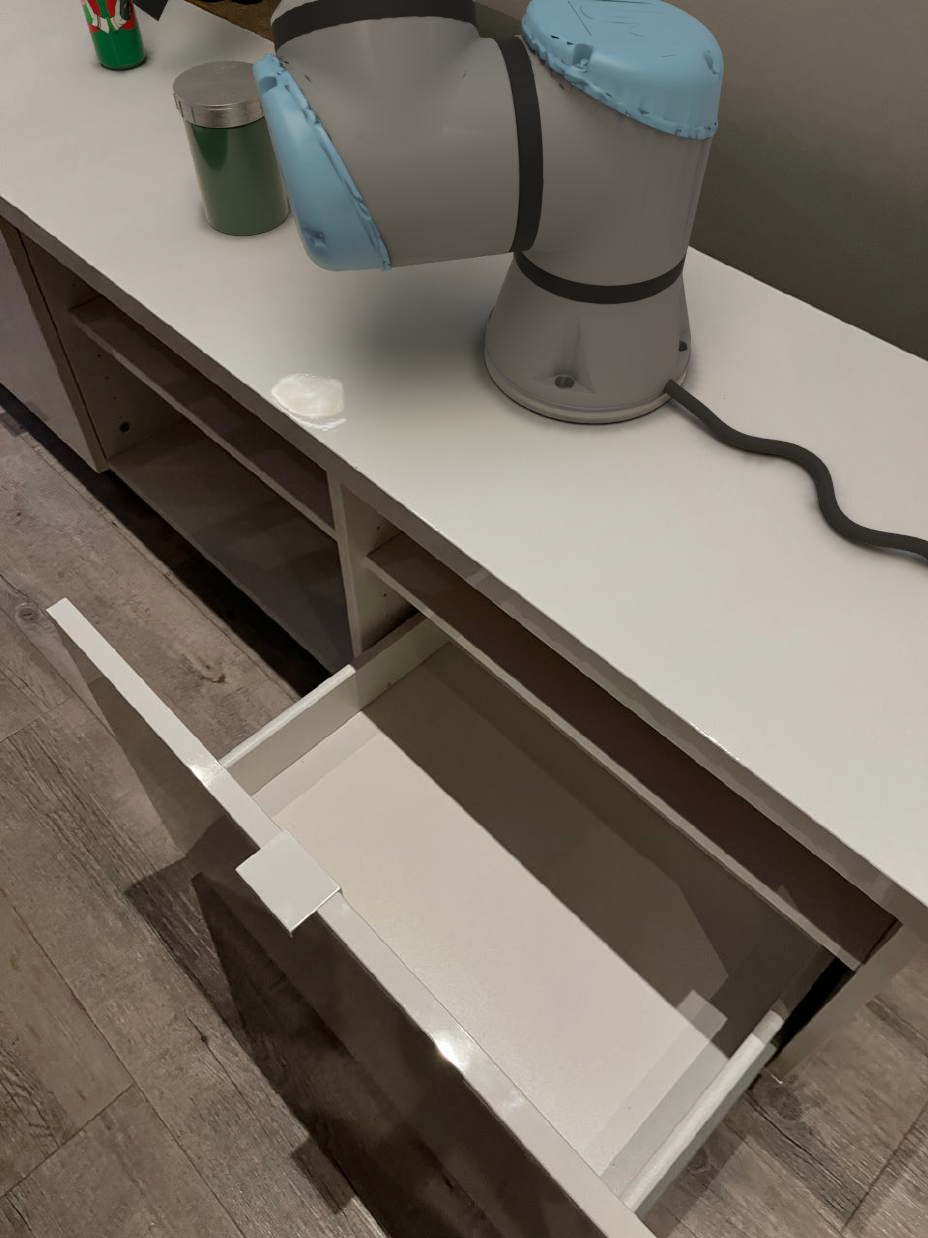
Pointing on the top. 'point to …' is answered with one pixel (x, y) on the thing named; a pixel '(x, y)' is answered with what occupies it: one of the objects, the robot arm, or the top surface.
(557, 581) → the top surface
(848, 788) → the top surface
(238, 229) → the jar
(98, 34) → the soda can
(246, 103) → the lid
